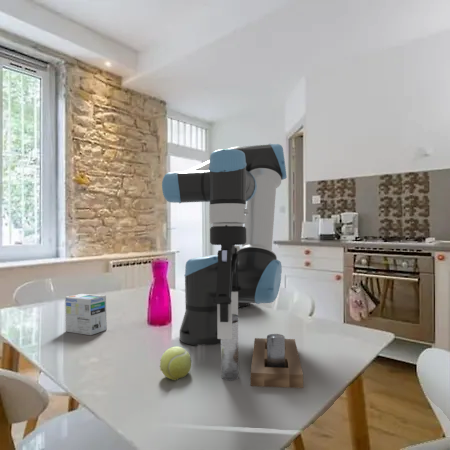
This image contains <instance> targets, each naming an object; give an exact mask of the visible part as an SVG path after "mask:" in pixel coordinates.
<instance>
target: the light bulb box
mask: <svg viewBox="0 0 450 450" xmlns="http://www.w3.org/2000/svg"><path fill="white" fill-rule="evenodd" d="M64 300H65V305H64V306H65V332H67V333H74V334H78V335H79V334H80V335H86V336H87V335H88V336H93V335H95V334H98V333H102V332H105V331H107V329H108V328H107V326H108V325H107V295H103V294H102V295H99V294H88V293H87V294H86V293H79V294H75V295H67V296H65V298H64Z"/></svg>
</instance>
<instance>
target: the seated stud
mask: <svg viewBox="0 0 450 450" xmlns="http://www.w3.org/2000/svg"><path fill="white" fill-rule="evenodd" d="M266 338H267V367H275V368H285V339H286V338H285V336H284V335H283V334H280V333H279V334H278V333H272V334H268V335H267V336H266Z"/></svg>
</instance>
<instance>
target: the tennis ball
mask: <svg viewBox="0 0 450 450" xmlns="http://www.w3.org/2000/svg"><path fill="white" fill-rule="evenodd" d="M161 355H162V356H161V358H160V363H159V364H160V365H159V369H160V371H161V372H162V373H163V375H164V376H165V377H166V378H167V379H170V380H171V381H178V379H181V378H185V377H186V376H187V375H188V374H189V372H190V371H191V368H192V358H191V354H190V353H189V352H188V351H187V349H185V348H183V347H181V346H172V347H169V348H168V349H166V350H165V351H164V352H163V354H161Z"/></svg>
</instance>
